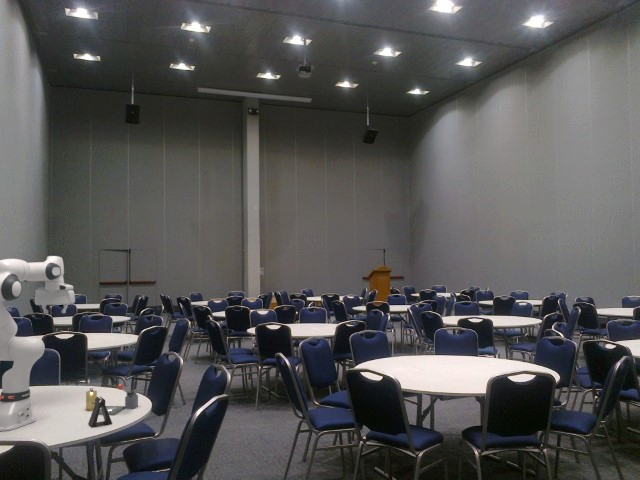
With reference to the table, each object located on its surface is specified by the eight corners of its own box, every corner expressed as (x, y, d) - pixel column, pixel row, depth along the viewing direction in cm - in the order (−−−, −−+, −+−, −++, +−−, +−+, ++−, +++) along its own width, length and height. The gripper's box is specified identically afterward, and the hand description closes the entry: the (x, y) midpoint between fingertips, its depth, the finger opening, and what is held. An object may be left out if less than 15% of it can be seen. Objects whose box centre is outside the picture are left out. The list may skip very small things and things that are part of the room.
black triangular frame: (108, 421, 259) (108, 395, 260) (112, 424, 254) (112, 397, 255) (88, 424, 254) (88, 397, 254) (91, 427, 249) (91, 400, 249)
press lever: (129, 396, 283) (130, 390, 285) (134, 396, 283) (135, 390, 284) (116, 389, 268) (117, 383, 270) (121, 389, 268) (122, 383, 269)
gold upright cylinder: (93, 411, 276) (93, 389, 277) (84, 411, 277) (84, 389, 277) (98, 408, 281) (98, 387, 282) (88, 408, 282) (89, 387, 282)
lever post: (134, 408, 280) (134, 391, 281) (125, 408, 281) (125, 390, 281) (137, 406, 285) (137, 388, 285) (128, 406, 285) (128, 388, 285)
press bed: (114, 415, 269) (114, 412, 269) (94, 414, 270) (94, 412, 270) (125, 408, 281) (125, 405, 281) (105, 408, 282) (105, 405, 282)
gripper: (32, 287, 291) (32, 314, 290) (70, 286, 290) (70, 313, 289) (38, 287, 297) (38, 313, 297) (76, 286, 296) (76, 312, 296)
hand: (54, 313), depth 293 cm, fingers open, 8 cm apart
